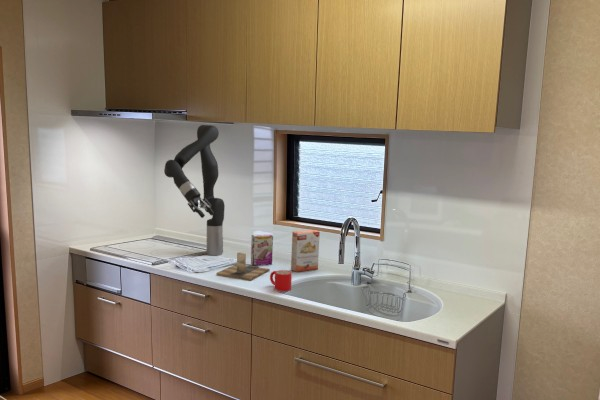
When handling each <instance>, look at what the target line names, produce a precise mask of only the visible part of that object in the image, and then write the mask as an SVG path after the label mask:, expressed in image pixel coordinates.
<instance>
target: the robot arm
mask: <svg viewBox="0 0 600 400" xmlns="http://www.w3.org/2000/svg"><path fill="white" fill-rule="evenodd" d="M219 132H220V131H219V129H218V127H216V125H212V124H211V125H209V124H201V125H199V126H198V127H197V129H196V138H197V139H196V140H194V141H192V142H191V143H190V144H187V145H186V146H184V147H183V148H182V149H181V150H180V151H179V152H177V154H175V156H174V159H168V160H167V161H165V163H164V164H165V165H164V175H165V176H166V177H167V178H172V179H173V183H174V184H175V187H176V188H178V189H177V190H179V192H180V194H181V195H182V196H183V197H184V198H185V200H186V201H187V206H188V207H189V208H190V209H191V211H192V212H193V213H197V214H198V216H200V218H201V219H203V218H204V217H205V216H206V215H205V213H204V211H202V210H201V209H203V210H205V212H206V213H208V214H209V216H212V217H211V218H209V219H207V220H206V255H207V256H221V255H223V253H224V235H223V231H224V230H223V229H224V228H223V227H224V226H223V225H224V221H225V207H226V206H225V201H224V200H223V199H222V198H221V197H220V198H219V197H215V196H214V195H215V194H214V189H215V185H216V183H217V181H218V178H219V165H218V164H219V163H218V161H217V159H216V157H215V155H214V153H213V152H212V149H211V144H213V143H214V142H215V141H216V140H217V139H218V137H219V135H220V133H219ZM198 153H199V155H200V162H201V176H202V183H203V198H202V197H201V193H200V191H199V190H198V189H197V187H196V186H195V185H194V184H193V183H192V182H191V180H190V179H189V178H188V177H187V176H186V174H185V172H184V171H183V168H184V167H185V165H186V164H188V162H190V161H191V160H192V159H193V158H194V157H195V156H196V155H197V154H198Z"/></svg>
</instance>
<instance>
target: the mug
mask: <svg viewBox="0 0 600 400" xmlns="http://www.w3.org/2000/svg"><path fill="white" fill-rule="evenodd" d="M292 273H293V272H292V271H290V270H287V269H286V270H285V269H281V270H273V271H271V273H270V275H269V280H270V283H271V284H272V285H273V286H274V290H276V291H279V292H288V291H291V290H292V281H293V279H292V277H293V276H292V275H293V274H292Z"/></svg>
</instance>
